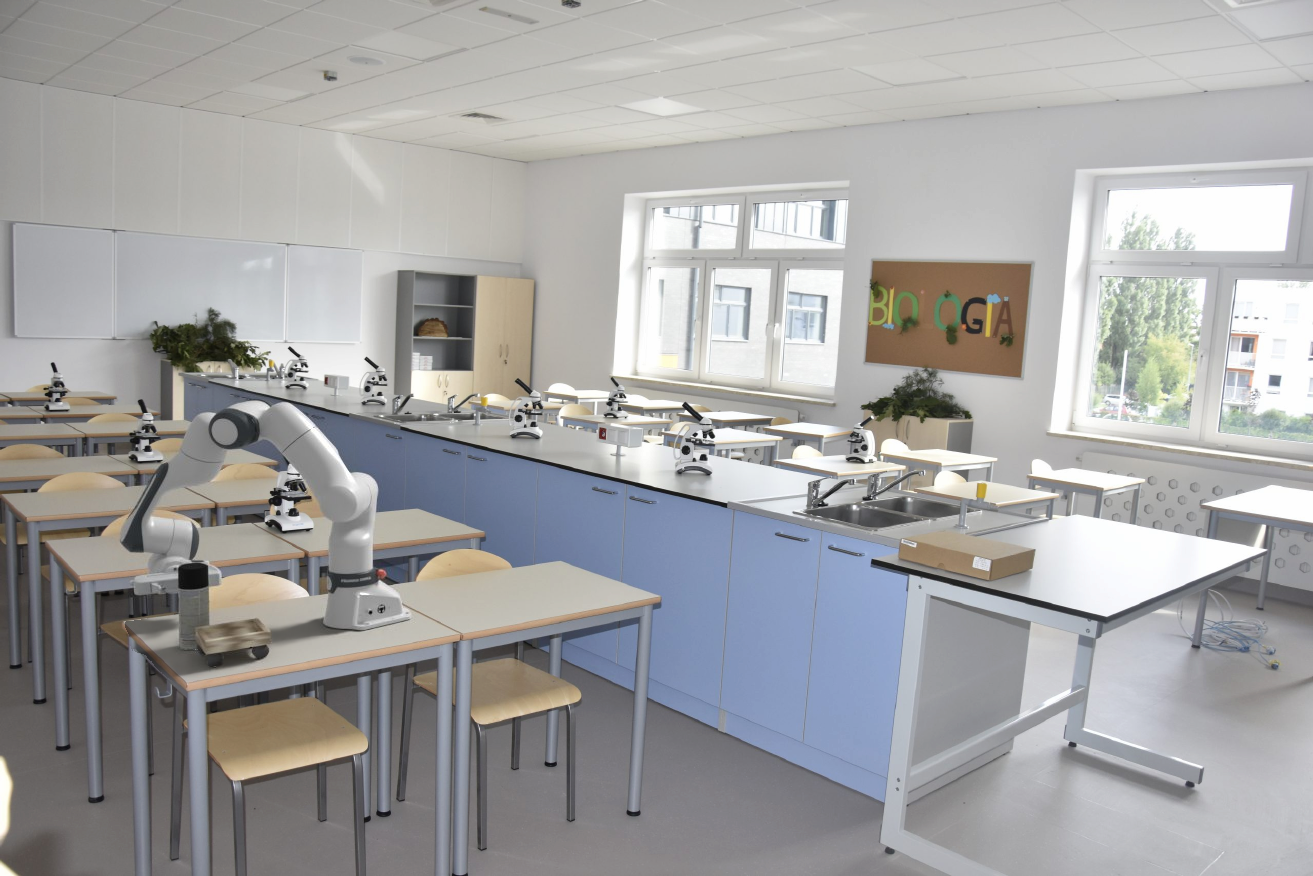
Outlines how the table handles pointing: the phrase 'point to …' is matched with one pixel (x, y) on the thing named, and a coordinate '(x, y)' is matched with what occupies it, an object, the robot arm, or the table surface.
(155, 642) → the table surface
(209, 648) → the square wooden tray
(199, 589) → the spray can
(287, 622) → the table surface
